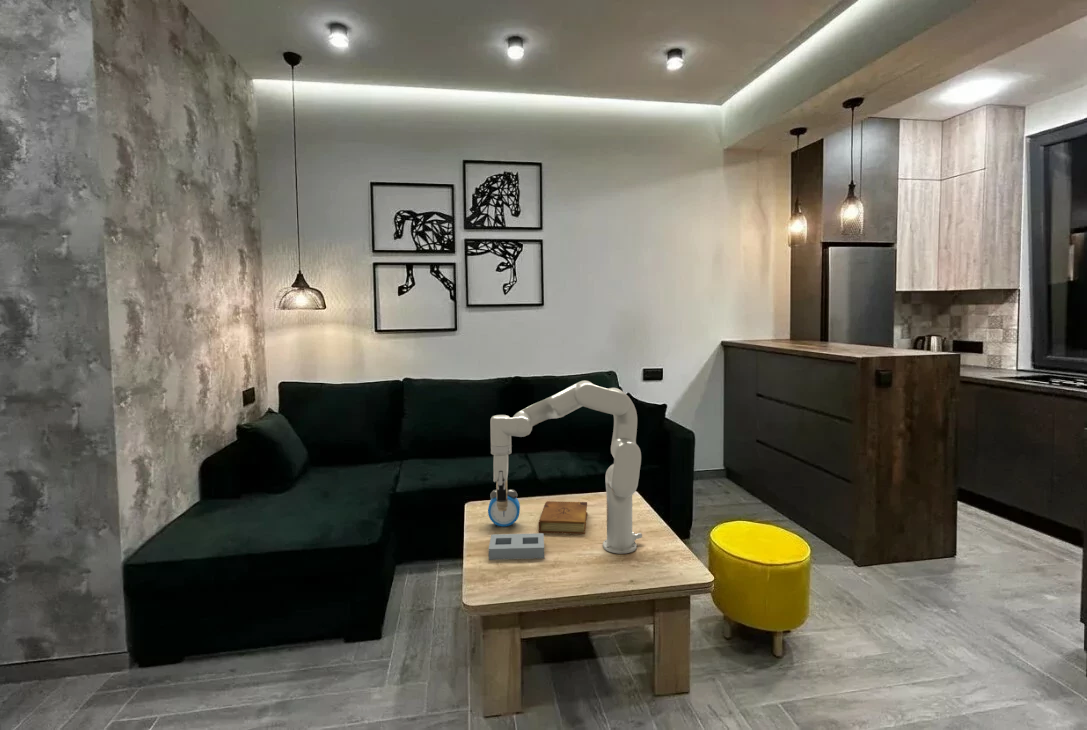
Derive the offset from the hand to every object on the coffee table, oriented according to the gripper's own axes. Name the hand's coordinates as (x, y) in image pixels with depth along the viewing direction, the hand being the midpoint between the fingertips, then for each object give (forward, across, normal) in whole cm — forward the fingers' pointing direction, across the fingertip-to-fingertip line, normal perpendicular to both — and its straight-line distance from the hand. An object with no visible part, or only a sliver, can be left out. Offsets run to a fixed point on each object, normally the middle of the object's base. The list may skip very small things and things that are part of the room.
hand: (502, 497), depth 200 cm
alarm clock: (+21, -26, -1) cm, 34 cm away
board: (+21, 0, +5) cm, 21 cm away
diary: (+21, -27, +24) cm, 42 cm away
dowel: (+5, 0, 0) cm, 5 cm away
